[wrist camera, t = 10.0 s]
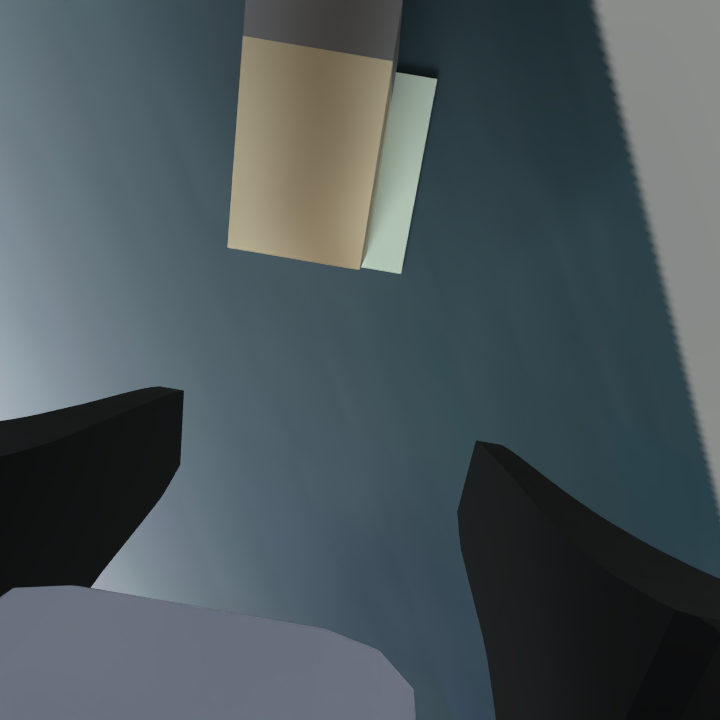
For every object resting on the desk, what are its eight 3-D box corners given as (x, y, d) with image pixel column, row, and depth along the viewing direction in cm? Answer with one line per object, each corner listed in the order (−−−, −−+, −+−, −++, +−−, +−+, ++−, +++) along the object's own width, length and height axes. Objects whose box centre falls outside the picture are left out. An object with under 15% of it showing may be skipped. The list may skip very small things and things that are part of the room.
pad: (232, 244, 19) (229, 244, 19) (247, 50, 17) (244, 46, 17) (400, 272, 19) (400, 273, 19) (436, 82, 17) (437, 79, 17)
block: (267, 238, 19) (227, 247, 14) (287, 38, 17) (247, -32, 12) (366, 255, 19) (359, 269, 14) (398, 57, 17) (403, -6, 12)
